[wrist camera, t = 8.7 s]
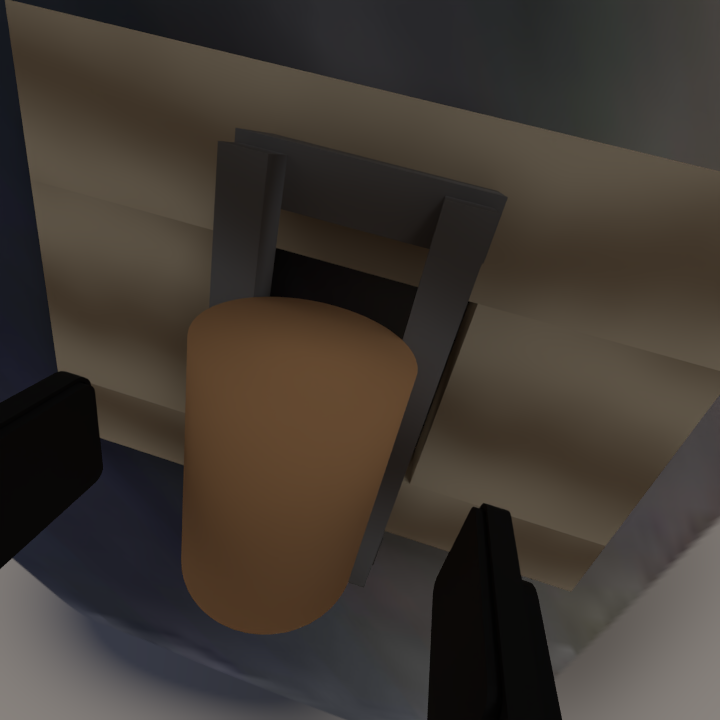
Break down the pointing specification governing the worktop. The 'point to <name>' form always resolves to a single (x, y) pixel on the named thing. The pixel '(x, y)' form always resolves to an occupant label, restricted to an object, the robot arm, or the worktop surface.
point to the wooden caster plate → (380, 270)
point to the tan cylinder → (284, 454)
